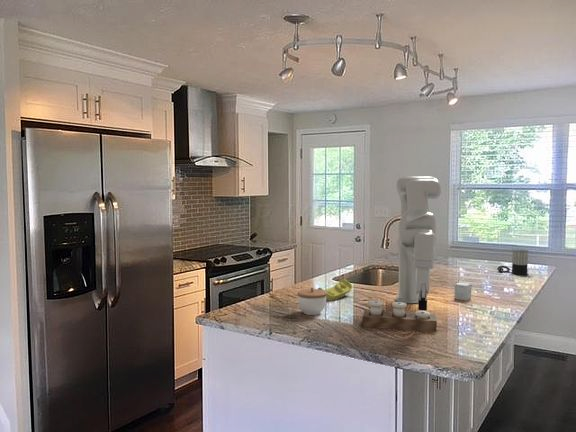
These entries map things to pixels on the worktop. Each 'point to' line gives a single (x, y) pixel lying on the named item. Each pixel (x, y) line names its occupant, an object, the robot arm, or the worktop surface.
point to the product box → (462, 291)
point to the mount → (399, 321)
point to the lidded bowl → (312, 301)
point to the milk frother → (517, 262)
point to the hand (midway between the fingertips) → (422, 309)
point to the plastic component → (338, 290)
